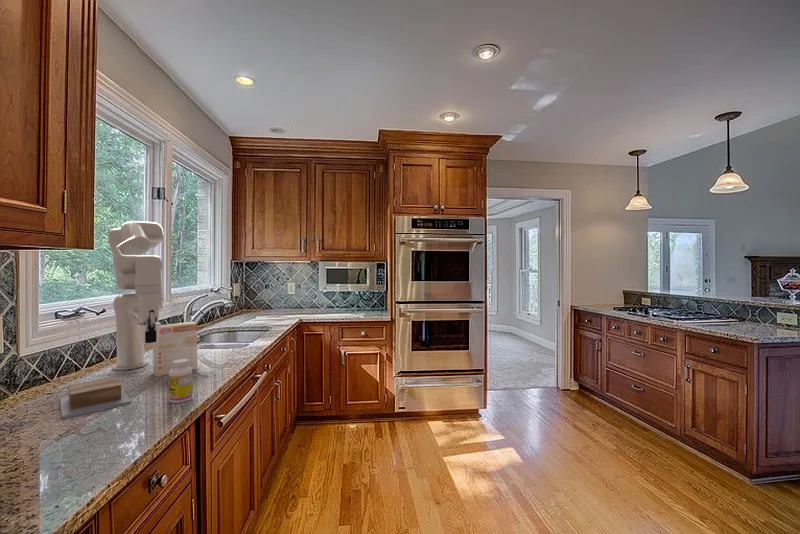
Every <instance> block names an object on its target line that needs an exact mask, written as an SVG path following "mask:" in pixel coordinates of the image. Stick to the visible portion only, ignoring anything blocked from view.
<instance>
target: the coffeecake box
mask: <svg viewBox="0 0 800 534" xmlns="http://www.w3.org/2000/svg"><path fill="white" fill-rule="evenodd" d="M179 359H188V360H189V364H188V367H191V368H192V371H195V370H198V369H199V368H198V363H199V362H198V323H197V322H195V321H187V322H186V321H185V322H177V323H167V324H160V333H159V342H158V343H154V344H152V372H153V375H154V376H155V377H161V376H167V375H169V371H170V370H171V369H173V366H172V361H175V360H179Z"/></svg>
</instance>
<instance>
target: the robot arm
mask: <svg viewBox="0 0 800 534" xmlns="http://www.w3.org/2000/svg"><path fill="white" fill-rule="evenodd" d="M107 233H108V236H107V239H108V245H109V248H110V250H111V252H112V263H113V266H114V271H115V272H116V284H117V288H118V289H119V290H120V291H124V292H125V291H133V293H123V294H119V295H117V296H116V297H115V298H114V299H113V304H112V306H113V310H114V314H115V315H114V316H115V323H116V324H115V326H116V327H115V328H116V364H113V365H112V367H111V369H112V370H114V371H127V370H135V369H139V368H142V367H146V366H148V365H149V360H147V359H145V345H141V344H139V337H138V329H137V324H140V323H142V324H144V323H146V332H145V343H153V342H156V341H157V338H156V322H159V317H160V316H159V313H160V312H161V311H162V310H163V306H164V305H163V304H164V301H163V288H162V285H163V284H162V270H163V260H162V259H161V257H160V256H159V255H154V254H151V255H150V254H146V253H148V252H149V251H150V249H155V248H156V247H158V245H160V243H162V241H163V239H164V230H163V227H162V225H161V224H160V223H158V222H156V221H155V222H153V221H137V220H130V221H127V222H126V221H125V222H124V223H123V224H121V226H120V227H117V228H111V229H110V230H109V231H108V232H107ZM134 291H135V292H134ZM148 324H149V325H148Z"/></svg>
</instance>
